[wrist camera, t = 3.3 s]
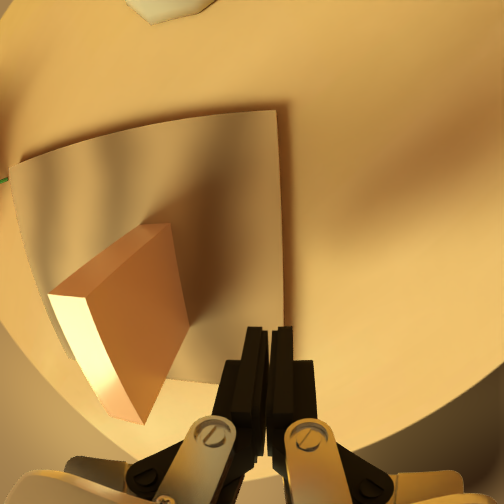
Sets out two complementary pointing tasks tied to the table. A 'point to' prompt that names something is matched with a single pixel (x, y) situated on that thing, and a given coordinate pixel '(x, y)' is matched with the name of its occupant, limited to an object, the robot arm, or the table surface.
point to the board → (169, 221)
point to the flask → (166, 9)
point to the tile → (126, 319)
